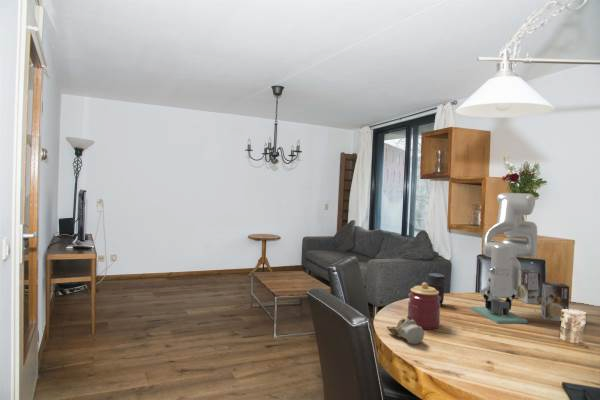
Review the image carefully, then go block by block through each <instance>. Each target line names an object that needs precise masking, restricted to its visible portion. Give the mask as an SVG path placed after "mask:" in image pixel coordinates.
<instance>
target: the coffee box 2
mask: <svg viewBox="0 0 600 400" xmlns="http://www.w3.org/2000/svg"><path fill="white" fill-rule="evenodd" d="M569 301H570V286H569V285H567V284H565V283H557V282H549V281H548V282H547V281H542V282H541V307H540V317H542V318H543V319H544V320H545V321H551V322H560V317H561V310H562V309H568V310H569V308H570V305H569V304H570V302H569Z"/></svg>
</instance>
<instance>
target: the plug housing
mask: <svg viewBox="0 0 600 400" xmlns="http://www.w3.org/2000/svg"><path fill="white" fill-rule="evenodd" d="M490 301H491V310H489V309H488V310H489V311H491V312H493V313H495V314H497V315H499V316H502V308H503V314H504V315H506V316H509V312H510V310H509V305H510V303H509V302H507V301H505V300H504V299H502V298H501V297H493V298H492V299H491V300H490Z"/></svg>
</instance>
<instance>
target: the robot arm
mask: <svg viewBox="0 0 600 400" xmlns="http://www.w3.org/2000/svg"><path fill="white" fill-rule="evenodd" d="M496 198H497V199H496V200H497V201H496V202H497V203H498V213H497V219H496V223H495V224H494V225H493V226H491V227H490V228H489V229H488V230H487V231H486V233H485V234H484V239H483V245H482V253H483V255H484V256H485V257H488V258H490V259H491V260H490V268H488V272H489V274H488V277H487V282H486V283H487V284H486V287H484V288H482V289H481V290H480V293H481V295H482V298H484V300H485V302H484V303H485V306H484V307H486V308H487V309H489V310H491V301H490V300H491V299H492V298H493V297H497V298H505V300H504V301H507V302H509V303H510V305H509V311H510V310H512V301H513V300H514V299H518V284H519V270H522V265H521V262H520V261H519V259H517V258H527V259H533V258H535V257H536V256H537V254H538V253H537V252H538V226H537V224H536V223H535V222H534V221H526V220H522V215H523V216H526V215H527V216H530V215H531V214H532V213H533V211H534V208H535V205H536V197H535V195H534V194H532V193H525V192H524V193H521V192H520V193H519V192H517V193H516V192H502V193H499V194H498V195H497V196H496ZM500 234H504V236H505V237H507V238H505V239H502V240H501V241H492V239H493V238H495V237H496V236H498V235H500Z"/></svg>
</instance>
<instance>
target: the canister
mask: <svg viewBox="0 0 600 400" xmlns="http://www.w3.org/2000/svg"><path fill="white" fill-rule="evenodd" d="M410 291H411V292H409V293H408V295H407V296H408V297H409V299H408V302H407V304H408V305H407V317H411V318H412V319H413V320H414V321H415V323H416V324H417V326H420V327H422V329H423V330H436V329H438V328H439V327H440V324H441V319H440V318H441V317H440V316H441V307H442V306H440V304H439V301H440V300H441V297H440V296H438V294H439V292H438V291H437V290H436V289H435V288H433V287H429V286H428V284H427V282H424V281H423V282H422V283H421V285H414V286H413V287H411V288H410ZM407 317H406V318H407Z"/></svg>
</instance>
